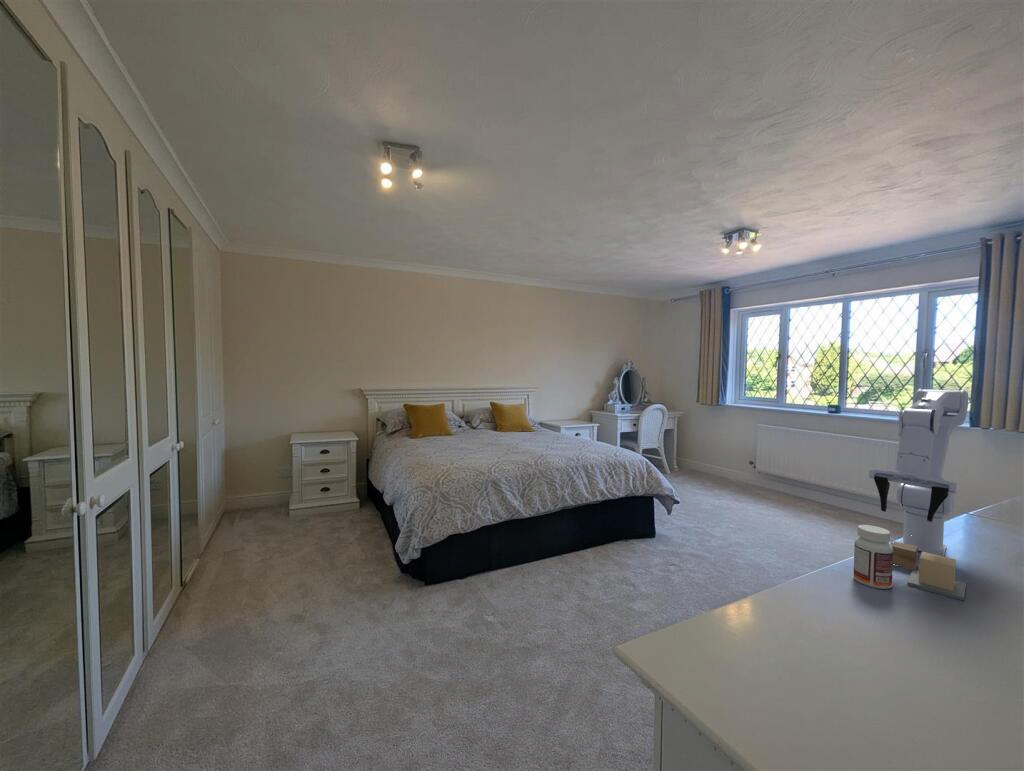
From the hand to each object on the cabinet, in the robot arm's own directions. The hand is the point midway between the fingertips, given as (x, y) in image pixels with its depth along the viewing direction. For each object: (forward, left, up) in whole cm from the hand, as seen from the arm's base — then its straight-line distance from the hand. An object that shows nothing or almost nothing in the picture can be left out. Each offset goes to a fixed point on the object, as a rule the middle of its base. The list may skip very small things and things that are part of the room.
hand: (905, 515), depth 96 cm
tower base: (+6, +6, -12) cm, 15 cm away
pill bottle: (+15, -3, -12) cm, 20 cm away
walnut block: (-2, 0, -12) cm, 12 cm away
